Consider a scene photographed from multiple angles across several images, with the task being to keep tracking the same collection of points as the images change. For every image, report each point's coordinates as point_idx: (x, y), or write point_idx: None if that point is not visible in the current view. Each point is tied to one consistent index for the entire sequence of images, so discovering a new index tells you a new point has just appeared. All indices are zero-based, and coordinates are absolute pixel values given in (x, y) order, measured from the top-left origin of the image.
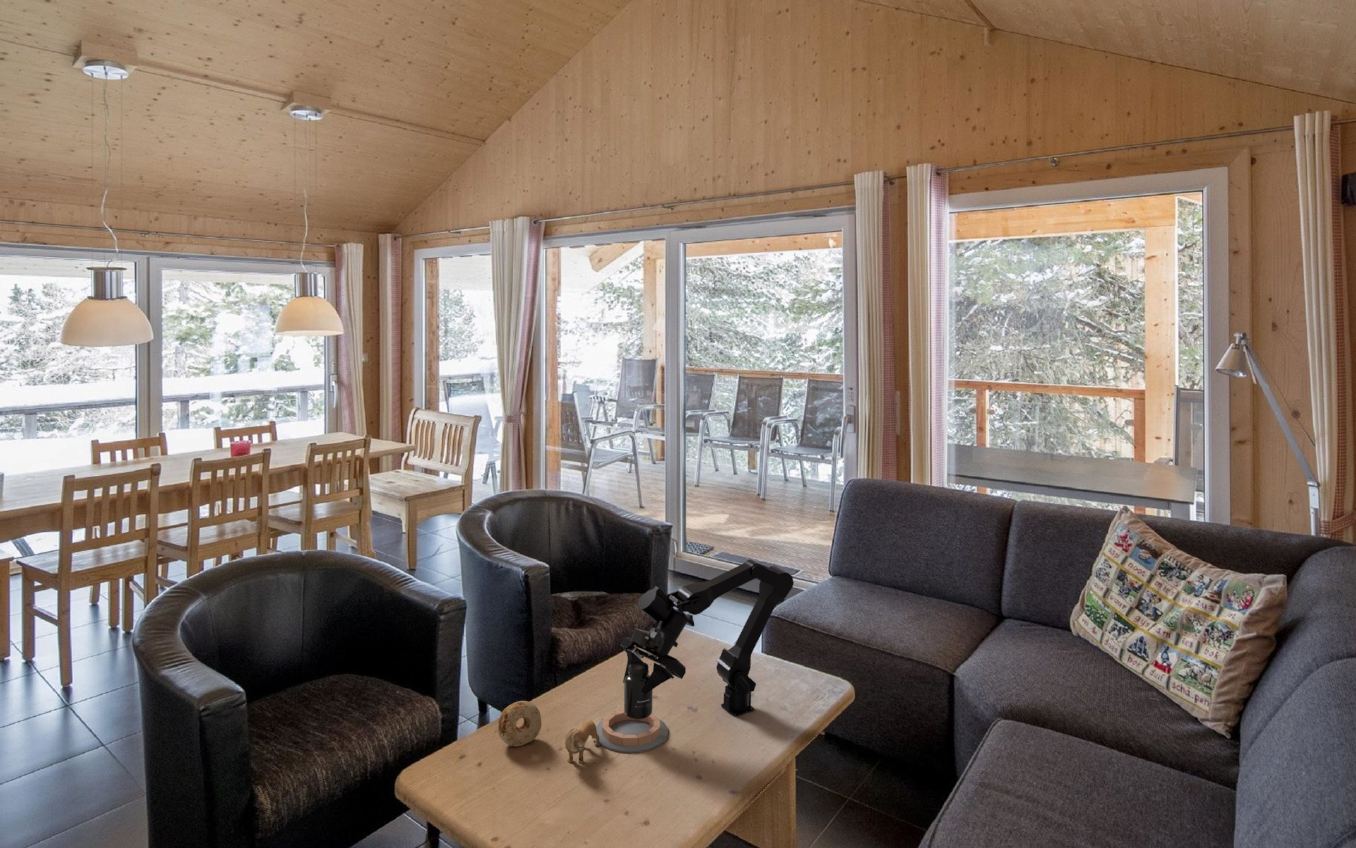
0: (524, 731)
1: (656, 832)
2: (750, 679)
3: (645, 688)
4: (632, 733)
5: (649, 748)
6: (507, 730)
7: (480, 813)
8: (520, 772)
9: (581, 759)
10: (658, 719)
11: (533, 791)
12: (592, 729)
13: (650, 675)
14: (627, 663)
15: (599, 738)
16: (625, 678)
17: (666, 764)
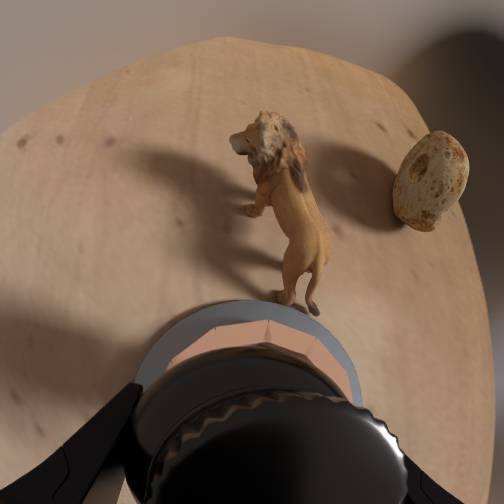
0: (408, 180)
1: (3, 137)
2: None
3: (113, 399)
4: None
5: (137, 373)
6: (416, 147)
7: (268, 54)
8: (317, 130)
9: (254, 207)
10: None
11: (251, 102)
12: (291, 242)
13: (86, 488)
14: (443, 491)
15: (297, 319)
16: (336, 387)
17: (57, 335)
